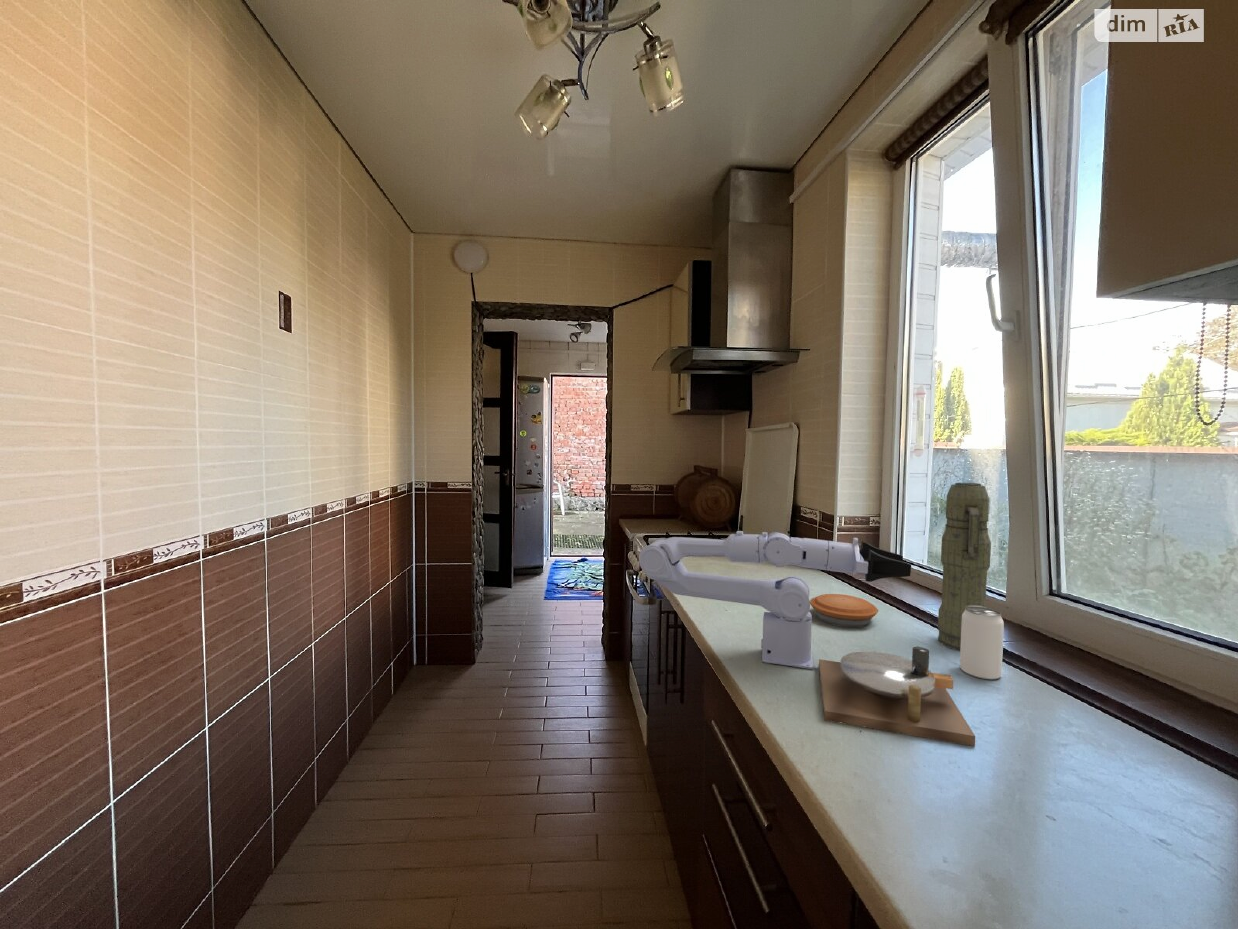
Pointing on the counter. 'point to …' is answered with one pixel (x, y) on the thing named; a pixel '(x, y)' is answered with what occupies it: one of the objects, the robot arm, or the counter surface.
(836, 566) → the robot arm
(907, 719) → the base board
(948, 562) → the thermos
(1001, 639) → the can
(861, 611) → the pie
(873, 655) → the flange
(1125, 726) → the counter surface
